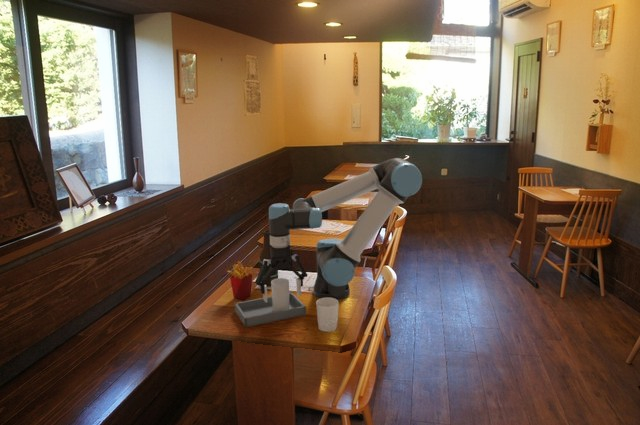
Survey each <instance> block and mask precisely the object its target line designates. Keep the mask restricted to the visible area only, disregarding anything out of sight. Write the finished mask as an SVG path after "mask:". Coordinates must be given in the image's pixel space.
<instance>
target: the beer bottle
mask: <svg viewBox="0 0 640 425" xmlns="http://www.w3.org/2000/svg"><path fill="white" fill-rule="evenodd" d="M262 234H263V247H262V251H261V252H260V254H259V270H260V269H261V266H262V260H263V259H265V260H270V258H271V253H270V246H271V245H270V230H269V229H266V230H263V232H262ZM271 265H272V264H271V263H269V265H268V266H267V269H266V271H265V274H266V273H267V271H268V270H269V268H270V266H271ZM265 274H264V276H265ZM264 276H263V277H264ZM277 278H279V270H278V269H277V270H276V271H275V272H274V273H273V274H272V276H271V277H270V278H269V280H268V281H267V283H266V284H265V285H266V286H267V288H271V281H272V280H274V279H277Z"/></svg>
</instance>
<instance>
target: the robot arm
mask: <svg viewBox="0 0 640 425" xmlns="http://www.w3.org/2000/svg"><path fill="white" fill-rule="evenodd" d="M422 185H423V175H422V173H421V171H420V169H419V168H418V167H417V165H415V164H413V163H412V162H410V161H407V160H406V159H405V158H401V157H395V158H394V157H393V158H390V159H387V160H384V161H382V162H380V163H378V164H376V165H374V166H372V167H370V169H369V171H367V172H364V173H362V174H359V175H357V176H355V177H352V178H350V179H348V180H346V181H343V182H340V183H339V184H336V185H333V186H332V187H328V188H327V189H325V190H322V191H320V192H317V193H314V194H313V195H310V196H308V197H306V198H302V197H301V198H297V199H296V200H294V202H293V204H292V208H290V206H289V204H287V203H281V202H278V203H273V204H271V205H270V206H269V207H268V225H269V226H268V228H269V229H268V230H270V245H271V246H270V253H271V258H270V260H265V259H263V260H262V266H261V269H260V268H259V272H258V274H257V276H256V279H255V281H254V283H255V285H257V286H259V287H260V293H261V294H262V296H263V297H262V298H263V300H264V301H265V302H268V301H267V297H268V287H267V286H266V285H265V284H266V283H267V281H268V280H269V278H270V277H271V276H272V274H273V273H274V272H275V271H276V270H277V269H278V271H279V270H286V269H287V268H289V269H290V270H291V271H292V272H293V273H294V274H295V276H297V277H296V278H295V280H296V294H297V295H298V297H301V296H302V287H304V279H305V278H307V277H308V273H307V271H306V269H305V268H304V266H303V264H302V262H301V261H300V257H299V255H298V254H297V253H294V254H293V255H291V254H292V253H291V249H292V248H291V230H305V229H306V230H307V229H310V230H313V229H317V228H321V227H322V225H323V214H322V213H324V212H325V211H328V210H330V209H333V208H335V207H338V206H339V205H342V204H344V203H347V202H349V201H351V200H353V199H355V198H358V197H361V196H363V195H365V194H368V193H370V192H373V191H375V190H378V191H377V193H376V194H375V195H374V197H373V198H372V200H371V201H370V202H369V204H368V205H367V207H366V208H365V210H363V212H362V214H360V216H359V218H358V219H357V220H356V222H355V223H354V225H353V226H352V228H350V230H349V231H348V232H347V234H346V235H345V237H344V238H343V239H340V238H324V239H320V240H318V241H317V243H316V273H317V274H316V278H315V282H314V284H313V286H312V287H313V288H312V290H313V291H312V292H313V296H314V297H316V298H317V299H321V298H327V297H328V298H334V299H337V300H338V301H340V300H344V299H345V298H348V297H349V295H350V293H351V292H350V290H351V289H350V285H349V284H350V282H352V280H353V279H354V277H355V273H356V271H355V269H356V268H357V267H358V266H359V264H360V262H361V255H362V253H363V252H364V250H365V249H366V248H367V246H368V245H369V244H370V243H371V241H372V240H373V238H374V237H375V236H376V234H377V233H378V231H379V230H380V229H381V227H382V226H383V225H384V224H385V222H386V221H387V219H388V218H389V217H390V215H391V214H392V212H393V211H394V210H395V208H397V206H398V205H400V204H404V203H405V202H406V200H407V199H408V198H410V197H411V196H413V195H415V194H417V193H418V192H419V191H420V189H421V187H422ZM292 261H294V262H295V264H296V265H297V268H298V269H299V271H300V272H301V273H300V272H299V271H298V270H297V269H295V267H293V265H292V264H291V262H292ZM269 263H271V264H272V265H271V266H270V268H269V270H268V271H267V273H266V274H265V271H266V269H267V266H268V265H269ZM264 274H265V276H264ZM263 276H264V277H263Z"/></svg>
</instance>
